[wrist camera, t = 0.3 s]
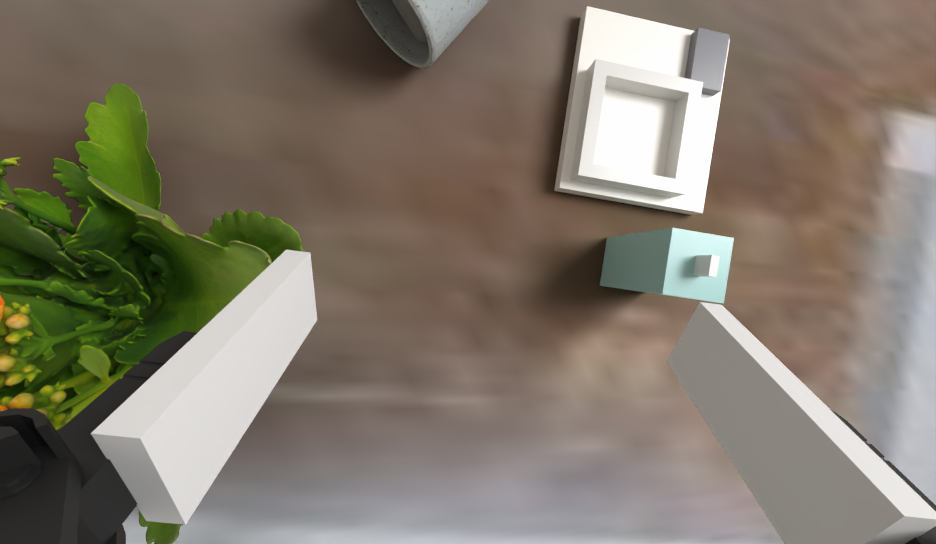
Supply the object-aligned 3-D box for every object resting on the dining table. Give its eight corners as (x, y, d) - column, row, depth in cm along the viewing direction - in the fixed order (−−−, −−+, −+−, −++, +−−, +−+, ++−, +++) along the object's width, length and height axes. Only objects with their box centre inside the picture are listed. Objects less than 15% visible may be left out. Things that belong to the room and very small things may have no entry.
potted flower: (34, 81, 25) (-925, -352, 7) (373, 163, 27) (261, -18, 10) (-38, 430, 25) (-1146, 825, 7) (305, 481, 27) (75, 871, 10)
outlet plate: (691, 214, 30) (717, 210, 27) (554, 190, 28) (566, 183, 26) (717, 48, 29) (746, 26, 27) (580, 17, 28) (595, -9, 26)
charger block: (645, 292, 29) (740, 305, 20) (599, 285, 29) (676, 296, 20) (652, 244, 29) (751, 236, 20) (607, 237, 29) (687, 225, 20)
